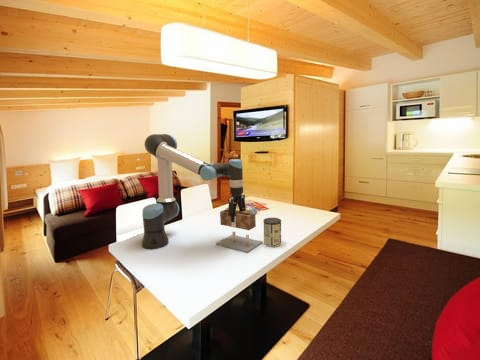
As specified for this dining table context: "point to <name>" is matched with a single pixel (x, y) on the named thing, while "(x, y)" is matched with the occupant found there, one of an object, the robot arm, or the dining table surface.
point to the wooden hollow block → (239, 219)
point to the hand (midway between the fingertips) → (237, 225)
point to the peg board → (239, 243)
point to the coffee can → (272, 232)
